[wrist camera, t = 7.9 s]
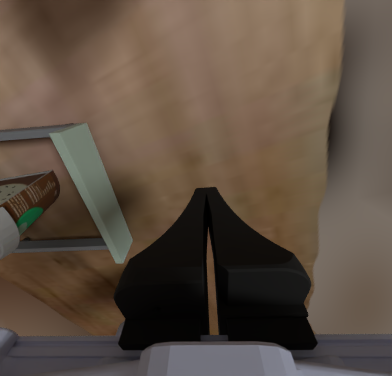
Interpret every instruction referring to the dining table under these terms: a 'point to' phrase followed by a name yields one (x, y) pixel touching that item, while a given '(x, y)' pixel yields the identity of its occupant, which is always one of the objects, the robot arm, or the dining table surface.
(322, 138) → the dining table surface
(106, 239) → the grey u-shaped frame
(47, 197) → the food container
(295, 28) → the dining table surface
